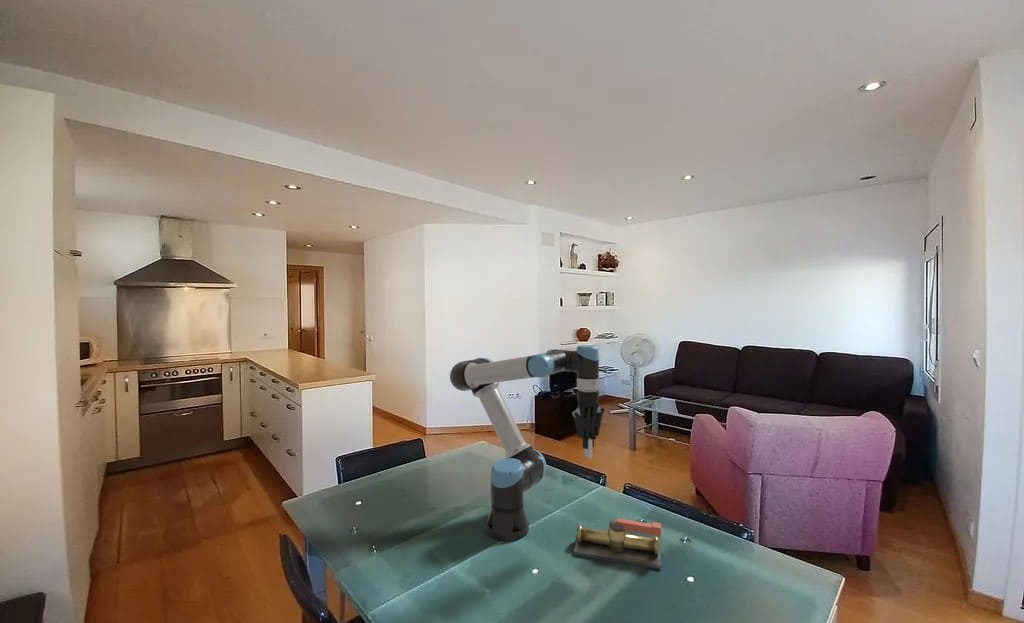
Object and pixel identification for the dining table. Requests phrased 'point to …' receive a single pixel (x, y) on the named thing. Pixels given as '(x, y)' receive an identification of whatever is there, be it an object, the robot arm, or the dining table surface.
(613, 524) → the lever
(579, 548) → the valve base
